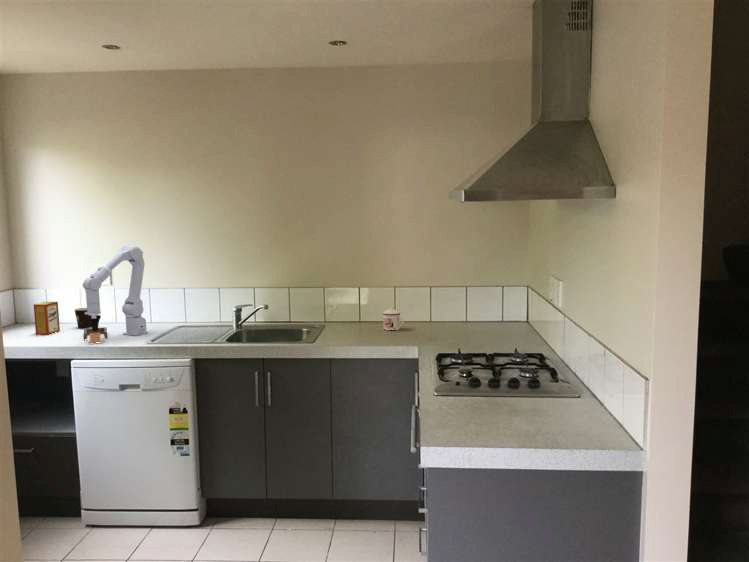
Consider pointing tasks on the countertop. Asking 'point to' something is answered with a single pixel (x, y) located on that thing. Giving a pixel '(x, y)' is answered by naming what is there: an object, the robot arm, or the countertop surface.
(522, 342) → the countertop surface
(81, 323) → the coffee mug
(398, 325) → the teacup with lid
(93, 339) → the terracotta block
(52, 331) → the baking soda box
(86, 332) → the wooden frame
